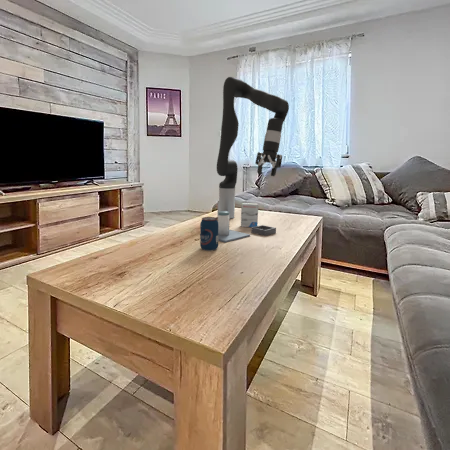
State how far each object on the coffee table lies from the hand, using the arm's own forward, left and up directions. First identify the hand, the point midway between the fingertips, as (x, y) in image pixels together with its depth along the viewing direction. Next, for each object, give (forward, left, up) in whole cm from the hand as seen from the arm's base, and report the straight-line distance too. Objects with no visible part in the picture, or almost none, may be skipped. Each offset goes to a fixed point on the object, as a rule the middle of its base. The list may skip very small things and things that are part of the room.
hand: (265, 175), depth 154 cm
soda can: (+9, -46, -27) cm, 54 cm away
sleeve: (+7, -9, -27) cm, 29 cm away
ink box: (-7, -3, -27) cm, 28 cm away
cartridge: (-1, -27, -26) cm, 38 cm away
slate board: (-1, -27, -27) cm, 38 cm away
